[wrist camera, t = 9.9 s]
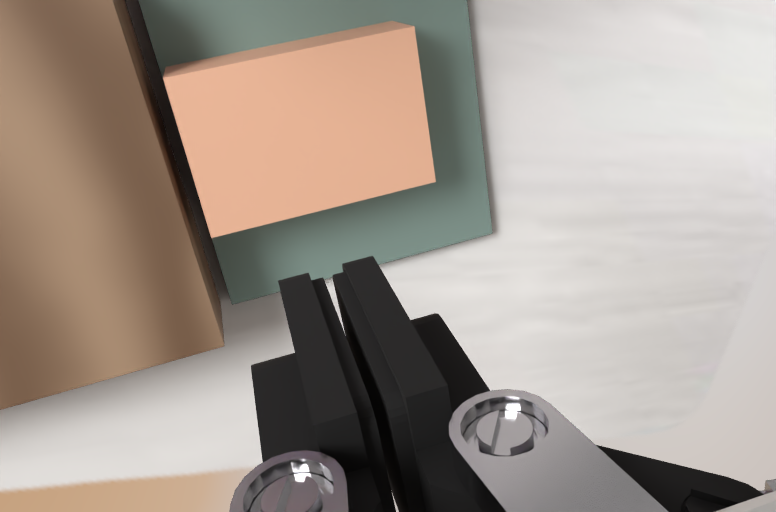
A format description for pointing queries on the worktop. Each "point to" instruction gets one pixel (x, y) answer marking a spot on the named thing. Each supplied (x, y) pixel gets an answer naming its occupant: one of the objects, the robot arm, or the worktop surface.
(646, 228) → the worktop surface
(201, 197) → the peach rectangular block
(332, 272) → the mat
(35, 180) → the brown block
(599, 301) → the worktop surface
